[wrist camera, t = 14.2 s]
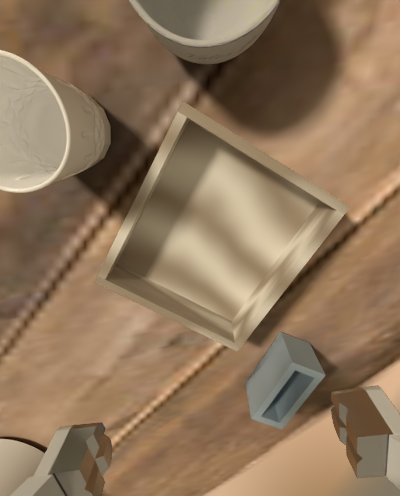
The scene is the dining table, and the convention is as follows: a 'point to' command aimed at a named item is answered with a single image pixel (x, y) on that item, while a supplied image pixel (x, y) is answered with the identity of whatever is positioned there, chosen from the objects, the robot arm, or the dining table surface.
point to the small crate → (283, 380)
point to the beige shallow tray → (216, 231)
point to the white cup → (45, 127)
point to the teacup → (206, 26)
